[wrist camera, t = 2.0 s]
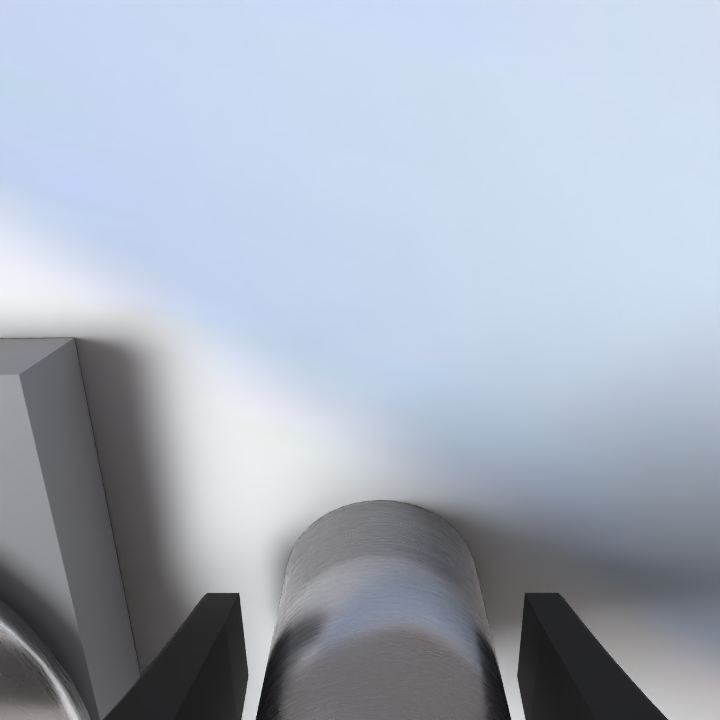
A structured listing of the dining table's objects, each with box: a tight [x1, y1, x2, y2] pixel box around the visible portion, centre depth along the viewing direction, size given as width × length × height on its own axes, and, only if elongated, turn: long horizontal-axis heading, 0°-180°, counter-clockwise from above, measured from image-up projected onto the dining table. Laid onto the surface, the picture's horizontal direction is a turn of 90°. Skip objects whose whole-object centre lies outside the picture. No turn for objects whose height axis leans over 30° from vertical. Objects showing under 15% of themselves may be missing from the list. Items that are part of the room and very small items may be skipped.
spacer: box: [256, 500, 511, 720], centre depth 10 cm, size 4×4×5 cm
